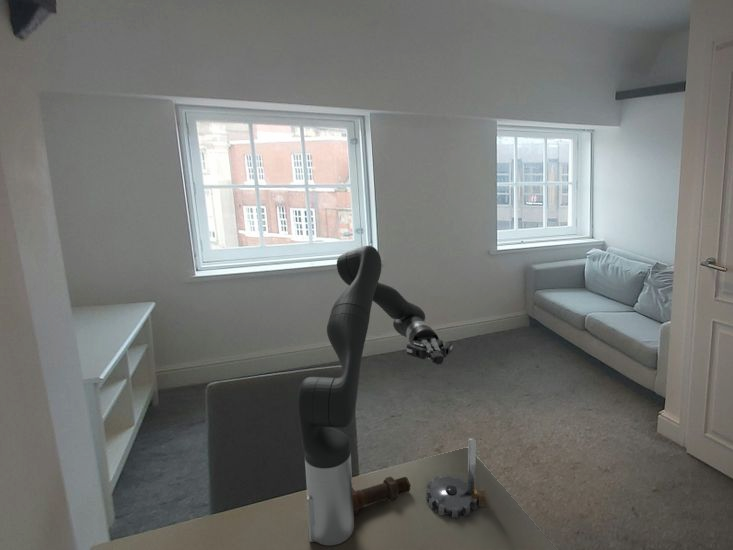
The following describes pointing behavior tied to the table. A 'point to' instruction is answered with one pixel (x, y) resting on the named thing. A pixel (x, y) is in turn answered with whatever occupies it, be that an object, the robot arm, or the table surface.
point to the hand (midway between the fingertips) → (439, 360)
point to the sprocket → (455, 489)
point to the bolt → (380, 492)
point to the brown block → (482, 498)
